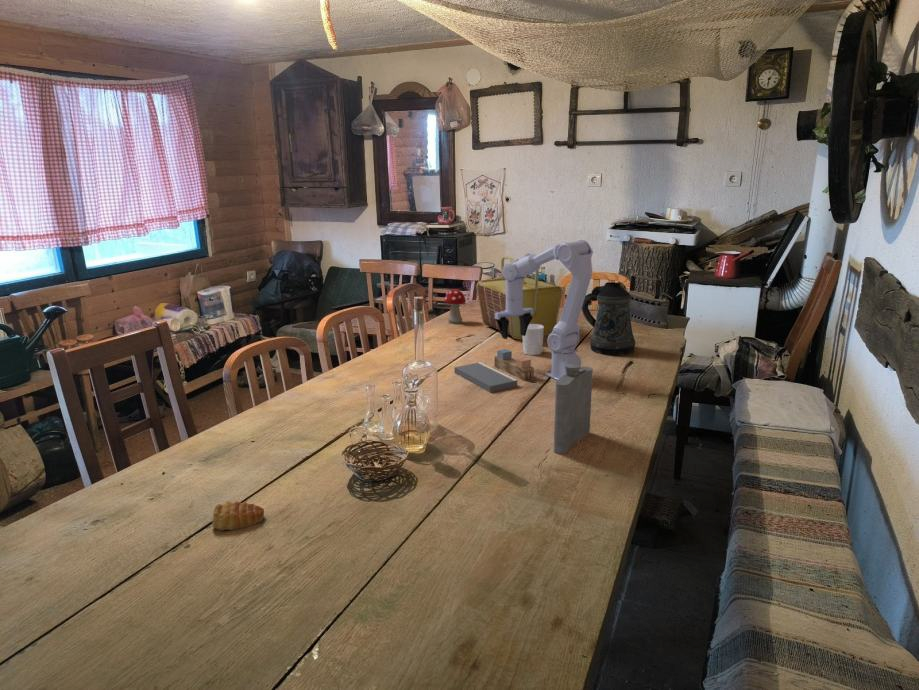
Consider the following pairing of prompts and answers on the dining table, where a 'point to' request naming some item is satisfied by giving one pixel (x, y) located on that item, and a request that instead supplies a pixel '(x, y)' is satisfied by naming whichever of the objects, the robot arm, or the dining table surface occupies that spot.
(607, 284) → the beer stein
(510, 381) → the dock
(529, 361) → the pink square block
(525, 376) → the brown notched bar
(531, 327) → the white cup
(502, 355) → the blue-grey square block
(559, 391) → the hip flask
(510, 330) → the picnic basket
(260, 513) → the pastry
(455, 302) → the decorative mushroom
